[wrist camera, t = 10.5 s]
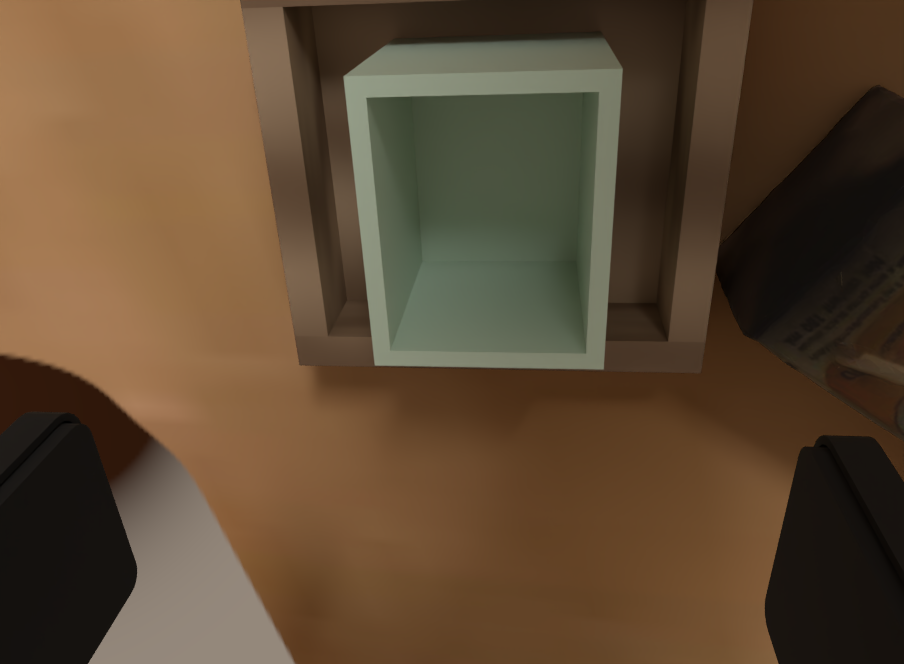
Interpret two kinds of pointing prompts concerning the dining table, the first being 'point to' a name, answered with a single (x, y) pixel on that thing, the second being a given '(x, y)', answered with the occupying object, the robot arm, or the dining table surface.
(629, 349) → the walnut crate
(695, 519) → the dining table surface
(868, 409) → the beverage carton
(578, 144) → the small crate
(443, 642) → the dining table surface
